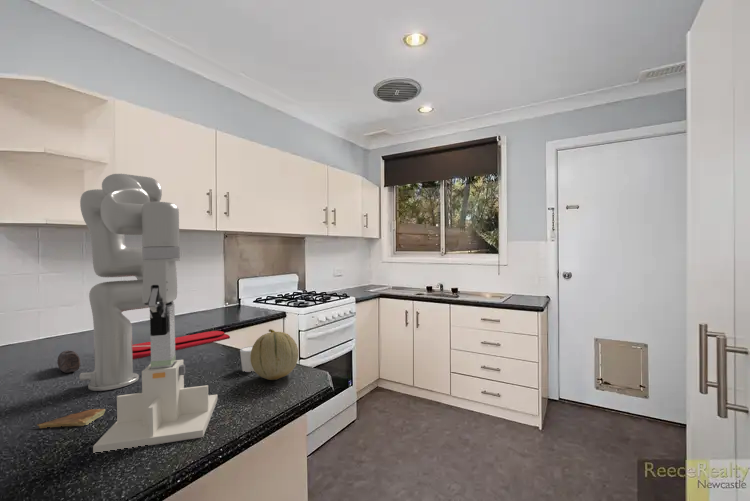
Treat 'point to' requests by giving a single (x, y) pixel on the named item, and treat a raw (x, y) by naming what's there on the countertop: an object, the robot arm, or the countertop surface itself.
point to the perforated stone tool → (68, 361)
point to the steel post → (164, 343)
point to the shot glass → (246, 359)
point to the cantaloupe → (274, 355)
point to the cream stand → (159, 411)
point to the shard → (74, 419)
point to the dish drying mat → (181, 342)
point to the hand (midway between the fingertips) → (162, 331)
